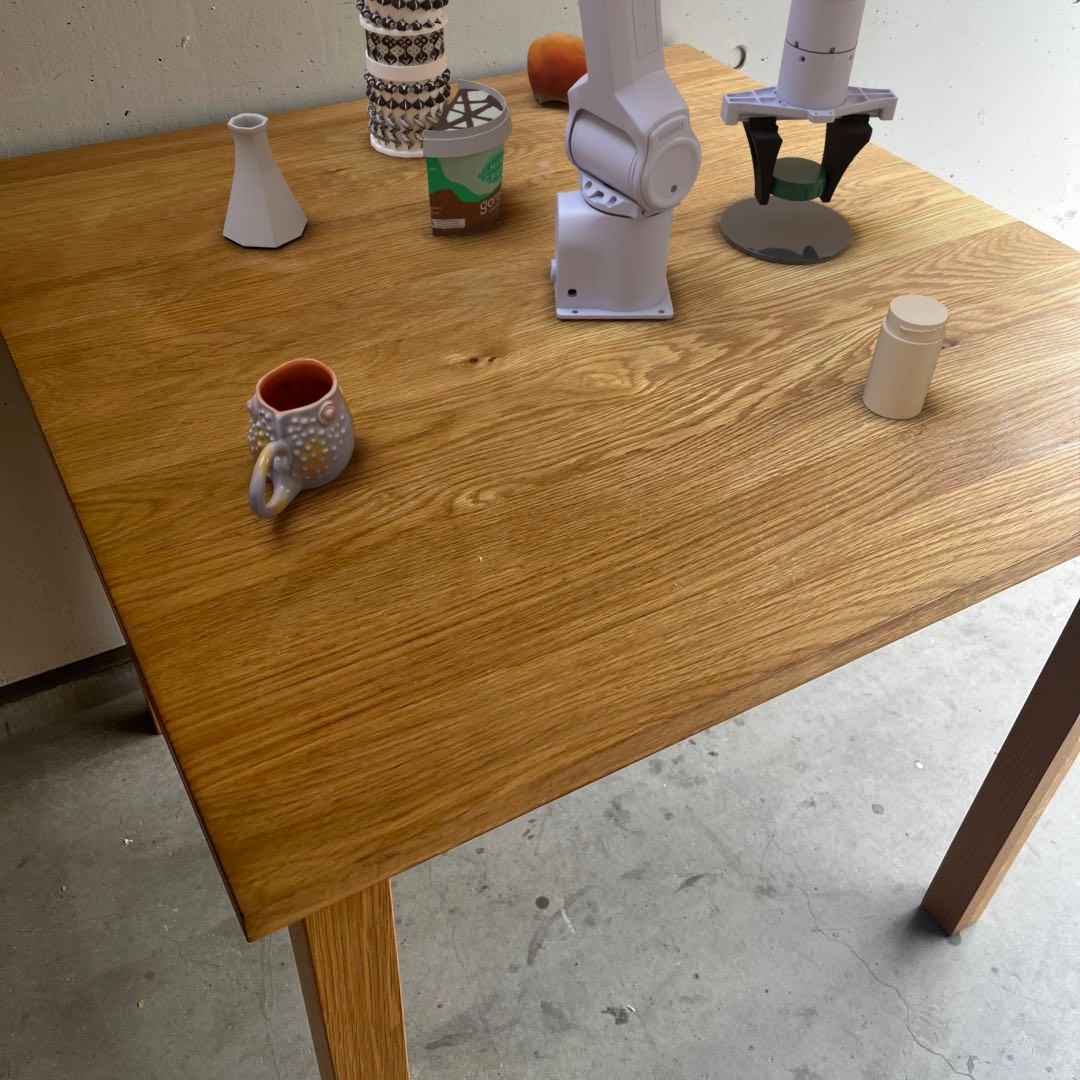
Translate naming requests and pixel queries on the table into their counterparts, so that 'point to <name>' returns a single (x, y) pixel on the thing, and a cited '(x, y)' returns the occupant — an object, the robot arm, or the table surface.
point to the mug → (297, 433)
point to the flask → (259, 190)
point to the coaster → (786, 230)
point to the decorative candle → (404, 72)
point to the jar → (905, 356)
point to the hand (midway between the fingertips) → (791, 198)
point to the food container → (467, 160)
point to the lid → (798, 179)
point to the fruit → (555, 65)
